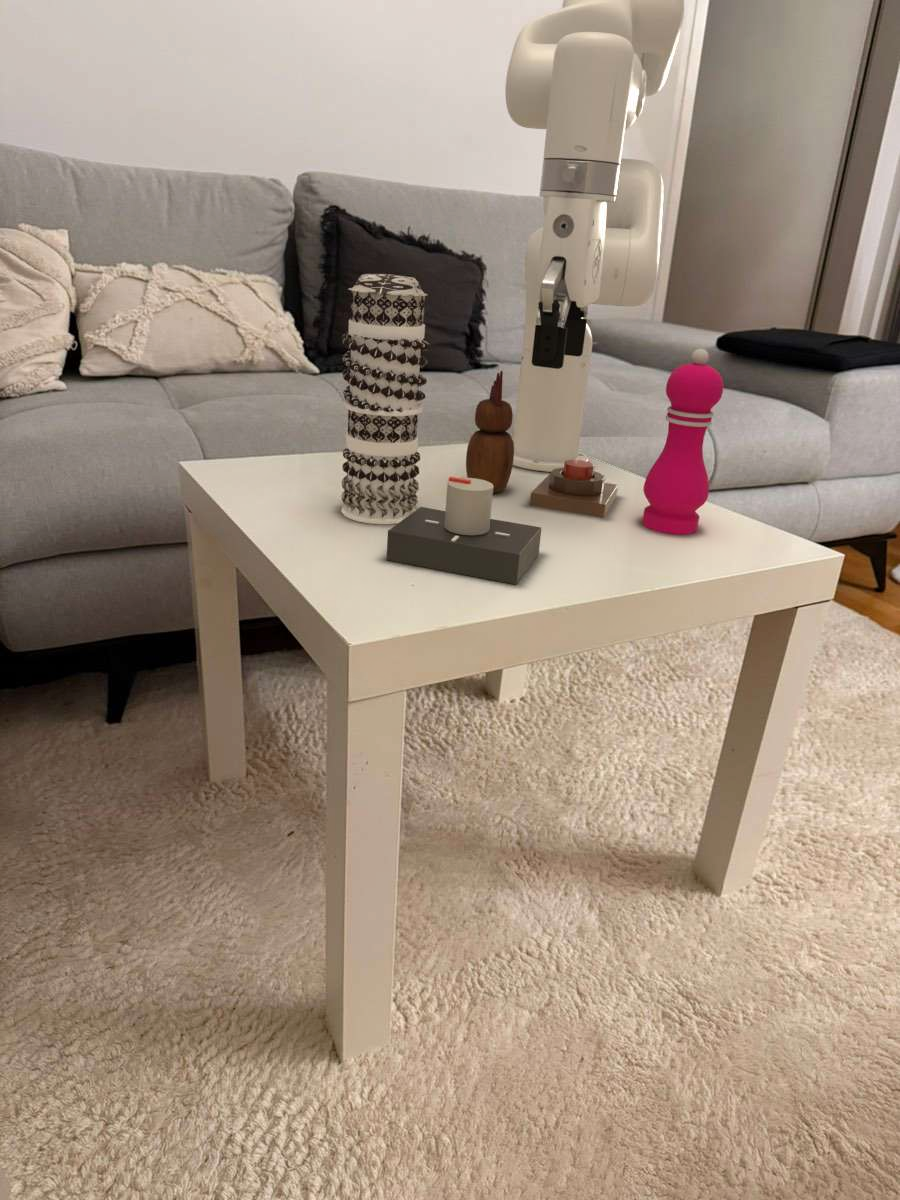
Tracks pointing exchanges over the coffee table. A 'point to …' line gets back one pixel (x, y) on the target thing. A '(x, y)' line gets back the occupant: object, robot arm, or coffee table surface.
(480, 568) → the panel
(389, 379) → the decorative candle
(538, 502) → the button block
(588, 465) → the button
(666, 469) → the pepper mill
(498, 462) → the wooden figurine
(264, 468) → the coffee table surface
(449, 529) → the knob
